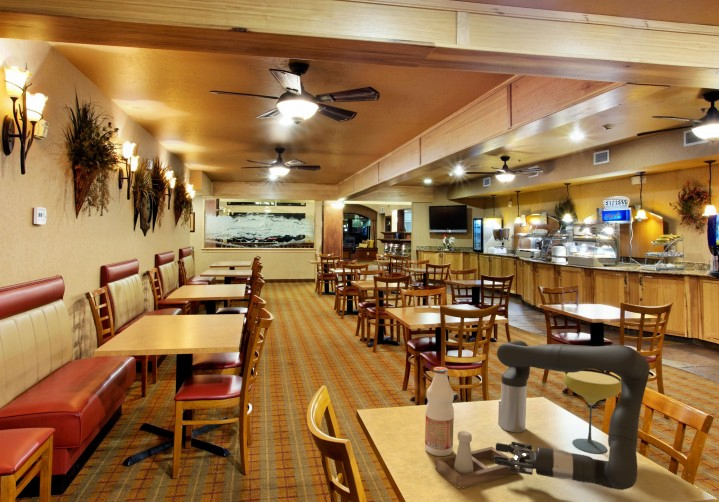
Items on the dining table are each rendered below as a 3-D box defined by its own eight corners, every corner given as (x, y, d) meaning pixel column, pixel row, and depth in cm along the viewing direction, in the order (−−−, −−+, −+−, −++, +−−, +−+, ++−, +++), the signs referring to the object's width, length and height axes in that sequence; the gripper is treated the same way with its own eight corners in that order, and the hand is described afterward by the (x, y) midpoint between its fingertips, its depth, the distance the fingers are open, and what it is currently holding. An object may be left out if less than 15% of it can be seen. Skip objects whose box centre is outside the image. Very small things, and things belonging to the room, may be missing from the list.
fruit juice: (433, 458, 146) (435, 374, 145) (419, 445, 154) (421, 365, 154) (458, 454, 149) (460, 371, 148) (443, 442, 158) (445, 363, 157)
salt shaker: (473, 481, 133) (474, 438, 132) (453, 478, 134) (455, 435, 133) (472, 471, 138) (474, 429, 138) (453, 468, 140) (455, 427, 139)
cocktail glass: (549, 439, 162) (552, 370, 161) (586, 431, 169) (589, 366, 168) (592, 462, 145) (595, 387, 144) (631, 453, 152) (634, 381, 151)
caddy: (435, 469, 139) (435, 459, 139) (491, 455, 149) (491, 446, 149) (459, 489, 128) (459, 478, 128) (518, 473, 138) (518, 463, 138)
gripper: (552, 439, 134) (496, 430, 139) (556, 462, 121) (493, 451, 126) (552, 464, 134) (495, 454, 140) (555, 489, 121) (493, 477, 126)
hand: (494, 452), depth 133 cm, fingers open, 8 cm apart
